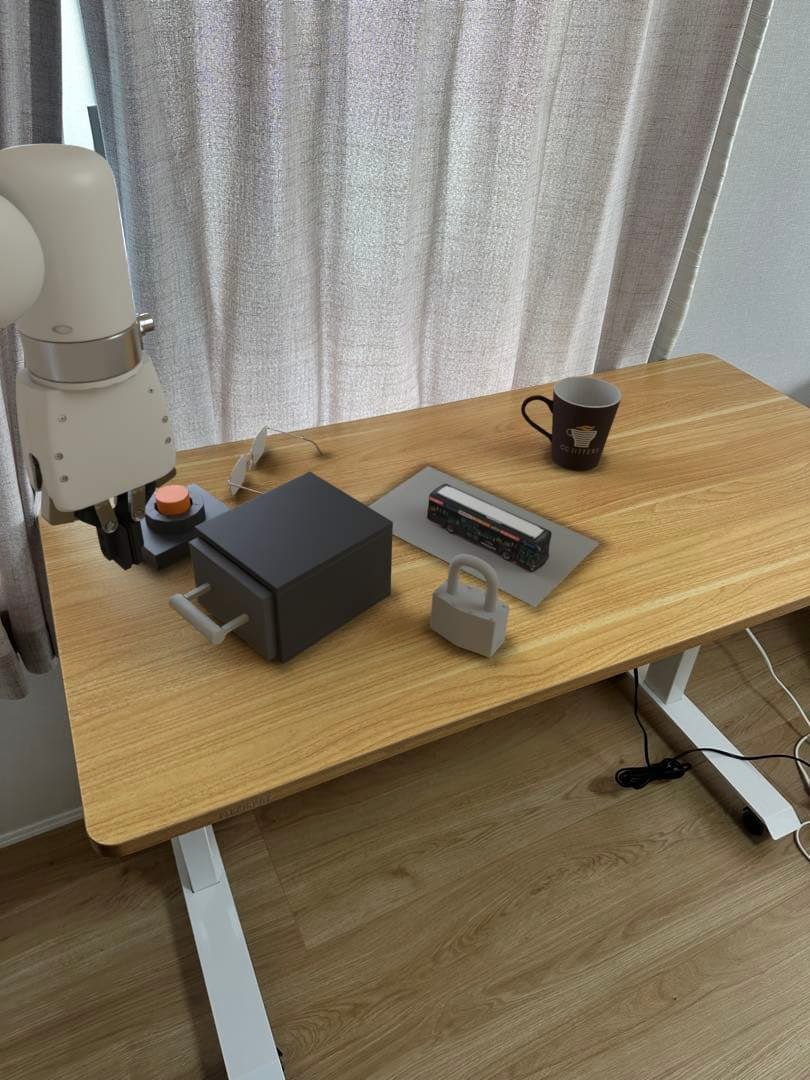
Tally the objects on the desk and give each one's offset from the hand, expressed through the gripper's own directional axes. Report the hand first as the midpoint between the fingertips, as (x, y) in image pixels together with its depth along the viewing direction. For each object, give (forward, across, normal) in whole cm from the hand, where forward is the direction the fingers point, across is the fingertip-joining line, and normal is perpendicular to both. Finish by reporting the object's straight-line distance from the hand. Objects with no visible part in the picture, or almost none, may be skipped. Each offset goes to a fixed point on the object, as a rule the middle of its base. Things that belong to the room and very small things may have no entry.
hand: (125, 558), depth 66 cm
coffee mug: (+13, -62, +2) cm, 64 cm away
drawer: (+13, -14, 0) cm, 19 cm away
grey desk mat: (+14, -40, +5) cm, 43 cm away
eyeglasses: (+14, -30, -19) cm, 38 cm away
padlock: (+14, -26, +16) cm, 34 cm away
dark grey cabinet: (+14, -18, 0) cm, 22 cm away
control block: (+14, -15, -18) cm, 27 cm away
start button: (+11, -15, -18) cm, 25 cm away
